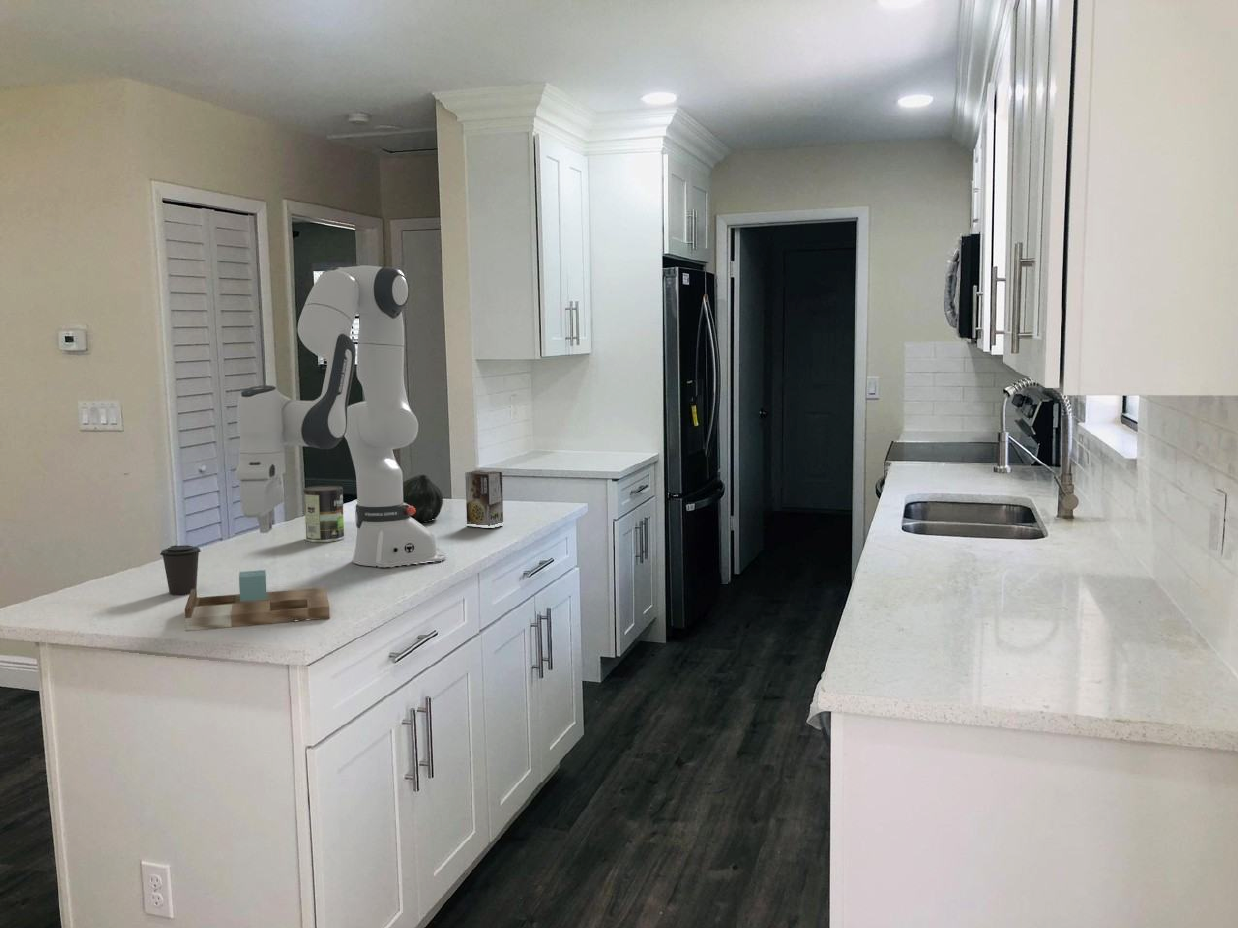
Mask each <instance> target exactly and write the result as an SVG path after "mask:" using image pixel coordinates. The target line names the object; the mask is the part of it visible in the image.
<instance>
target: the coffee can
mask: <svg viewBox="0 0 1238 928" xmlns="http://www.w3.org/2000/svg"><path fill="white" fill-rule="evenodd" d="M343 491H344V488H343V486H340V485H317V486H308V487H305V488H304V489H303V495H304V499H303V500H304V517H305V518H304V519H305V522H304V523H305V541H306V542H311V543H332V542H338V541H341V540H344V539H345V526H344V525H345V523H344V519H345V518H344V500H343V499H344V496H343V495H344V494H343V493H344V492H343Z"/></svg>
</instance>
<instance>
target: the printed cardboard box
mask: <svg viewBox="0 0 1238 928" xmlns="http://www.w3.org/2000/svg"><path fill="white" fill-rule="evenodd" d="M464 475H465V478H464V479H465V501H466V502H465V504H466V505H465V506H466V507H465V508H466V525H467V524H476V525H488V526H490V525H495V524H498V523H502V522H503V523H504V515H503V514H504V512H503V511H504V509H503V505H504V504H503V501H504V499H503V472H502V471H499V470H498V471H497V470H496V471H495V470H482V469H481V470H480V469H478V470H477V469H476V470H472V471H467V472H465V474H464Z"/></svg>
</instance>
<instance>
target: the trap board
mask: <svg viewBox="0 0 1238 928" xmlns="http://www.w3.org/2000/svg"><path fill="white" fill-rule="evenodd" d="M266 593H267V600H259V601H246V602H240V593H237V594H226V595H225V594H223V595H211V596H210V595H209V596H198V590H197V588H196V589H191V592H190V594H188V598H187V601H186V604H185V608H184V617H185V618H184V619H185V631H186V632H187V631H188V632H189V631H200V630H210V629H223V628H234V627H247V626H257V625H269V624H268V623H272V624H277V623H276V622H284V623H287V622H286V621H295V620H306V619H318V620H329V619H331V618H330V617H331V616H330V615H331V614H330V603H329V598H328V593H327V588H326V587H315V588H304V589H303V588H302V589H289V590H276V591H266ZM295 622H296V621H295Z"/></svg>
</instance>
